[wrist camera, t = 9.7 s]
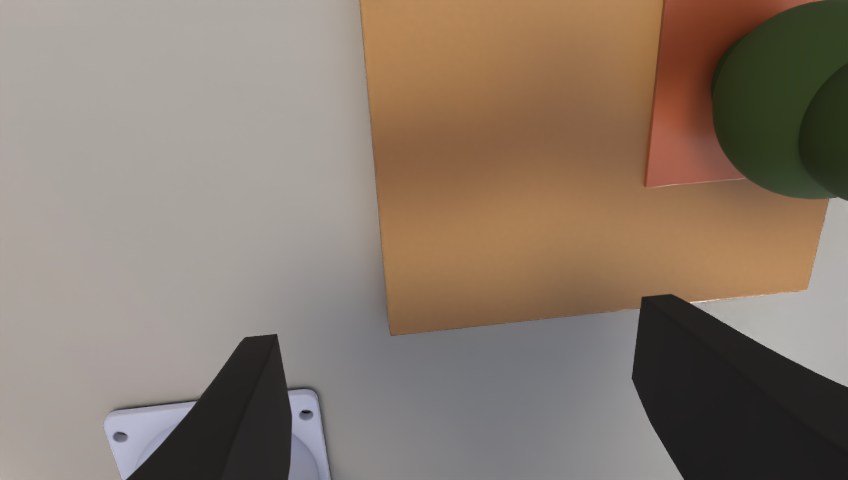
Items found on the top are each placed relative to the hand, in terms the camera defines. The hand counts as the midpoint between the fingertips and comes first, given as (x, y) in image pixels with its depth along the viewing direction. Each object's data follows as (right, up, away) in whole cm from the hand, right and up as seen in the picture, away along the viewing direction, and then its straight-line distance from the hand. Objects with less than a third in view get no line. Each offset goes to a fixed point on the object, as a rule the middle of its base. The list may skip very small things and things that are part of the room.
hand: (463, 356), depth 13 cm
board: (+5, +5, +10) cm, 12 cm away
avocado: (+10, +7, +8) cm, 15 cm away
